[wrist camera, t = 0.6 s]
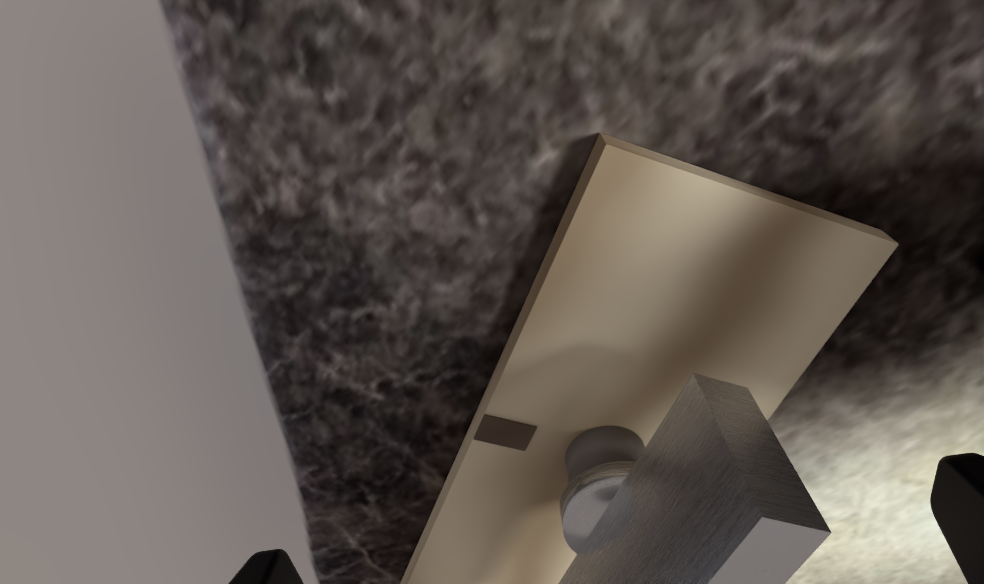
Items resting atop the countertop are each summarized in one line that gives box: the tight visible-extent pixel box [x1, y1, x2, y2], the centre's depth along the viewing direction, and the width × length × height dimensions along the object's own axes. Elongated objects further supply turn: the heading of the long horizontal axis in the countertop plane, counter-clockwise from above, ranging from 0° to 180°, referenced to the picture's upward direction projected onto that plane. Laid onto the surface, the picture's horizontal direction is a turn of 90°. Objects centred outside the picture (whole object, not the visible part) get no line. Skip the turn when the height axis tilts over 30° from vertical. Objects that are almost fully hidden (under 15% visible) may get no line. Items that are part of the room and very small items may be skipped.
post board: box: [400, 133, 899, 584], centre depth 24 cm, size 10×22×3 cm, turn 161°
